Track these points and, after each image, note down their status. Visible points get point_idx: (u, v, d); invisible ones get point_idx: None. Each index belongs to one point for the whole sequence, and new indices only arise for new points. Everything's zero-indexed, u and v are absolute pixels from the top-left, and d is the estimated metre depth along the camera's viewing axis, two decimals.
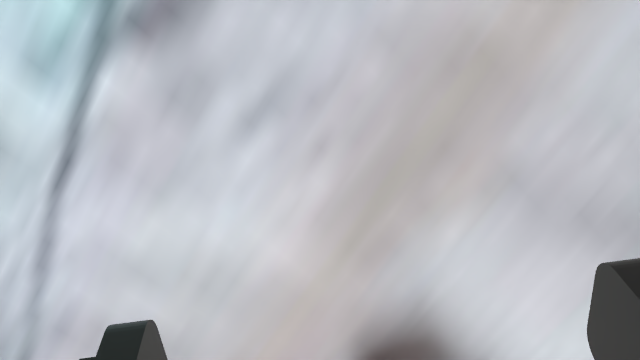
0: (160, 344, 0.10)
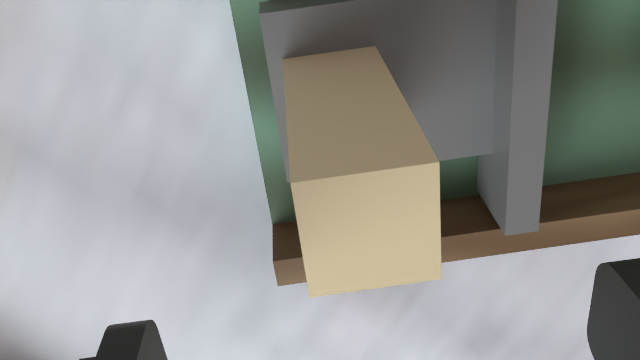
0: (160, 344, 0.10)
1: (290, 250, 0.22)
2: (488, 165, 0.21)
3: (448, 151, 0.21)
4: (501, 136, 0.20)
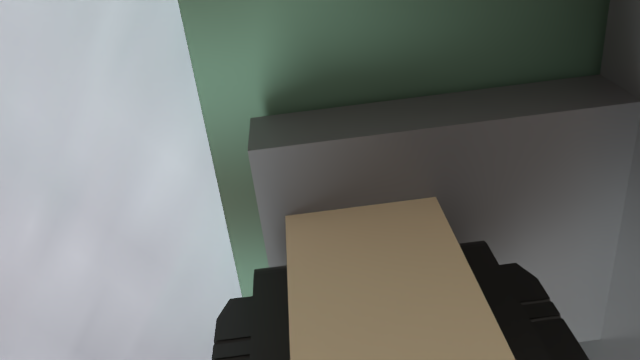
0: None
1: None
2: (590, 349, 0.14)
3: None
4: (626, 330, 0.12)
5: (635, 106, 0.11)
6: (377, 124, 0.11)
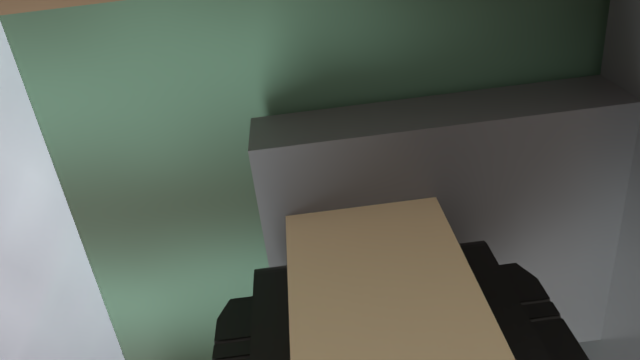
0: None
1: None
2: (590, 349, 0.14)
3: None
4: (626, 330, 0.12)
5: (636, 107, 0.11)
6: (377, 124, 0.11)
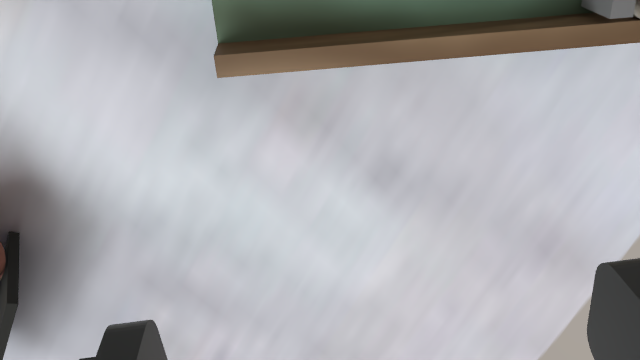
0: (160, 344, 0.10)
1: (227, 52, 0.31)
2: None
3: None
4: None
5: None
6: None
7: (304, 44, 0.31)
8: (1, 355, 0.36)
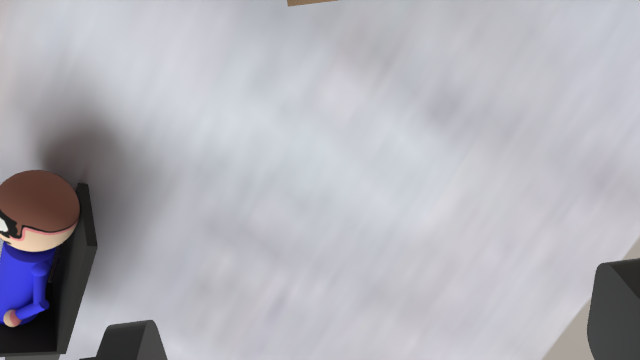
0: (160, 344, 0.10)
1: None
2: None
3: None
4: None
5: None
6: None
7: None
8: (79, 299, 0.37)
